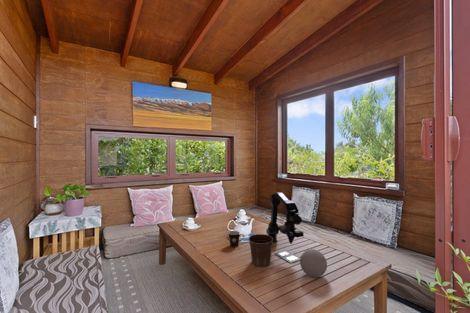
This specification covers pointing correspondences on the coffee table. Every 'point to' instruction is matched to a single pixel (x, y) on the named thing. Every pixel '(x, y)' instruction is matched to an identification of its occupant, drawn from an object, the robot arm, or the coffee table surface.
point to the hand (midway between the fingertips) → (290, 243)
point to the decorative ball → (313, 263)
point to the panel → (288, 256)
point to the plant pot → (260, 249)
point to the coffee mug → (234, 238)
